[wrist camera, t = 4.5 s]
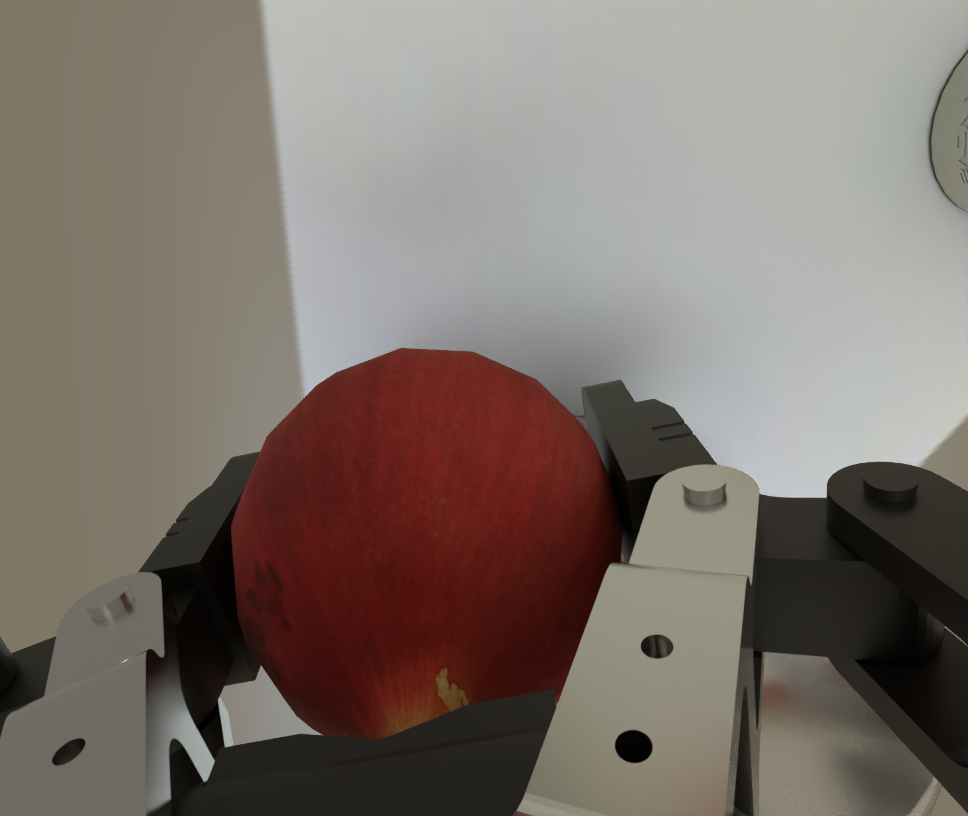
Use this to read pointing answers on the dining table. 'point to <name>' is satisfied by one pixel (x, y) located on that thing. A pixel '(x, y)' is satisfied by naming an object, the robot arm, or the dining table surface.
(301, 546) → the onion
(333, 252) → the dining table surface
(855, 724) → the lid
